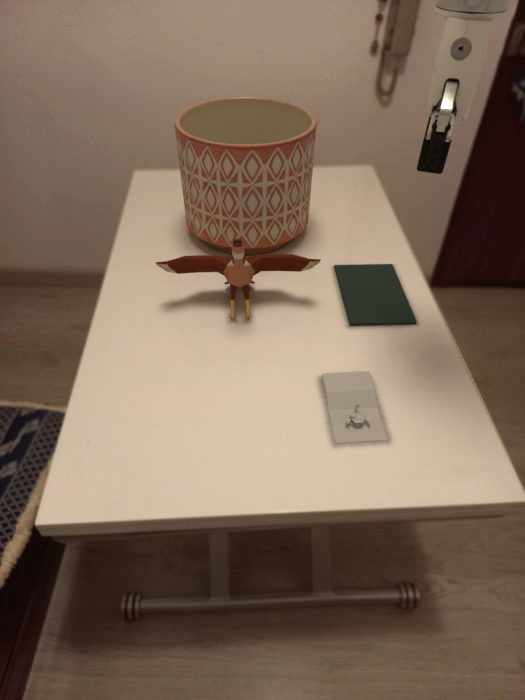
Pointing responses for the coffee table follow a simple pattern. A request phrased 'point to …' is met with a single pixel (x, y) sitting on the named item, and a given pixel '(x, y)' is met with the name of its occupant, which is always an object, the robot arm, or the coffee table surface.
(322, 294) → the coffee table surface
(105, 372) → the coffee table surface
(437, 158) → the robot arm
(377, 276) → the felt mat
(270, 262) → the decorative bird
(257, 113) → the planter
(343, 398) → the white pop-up card
